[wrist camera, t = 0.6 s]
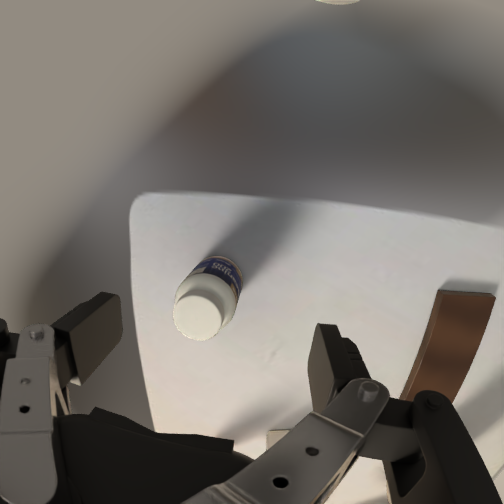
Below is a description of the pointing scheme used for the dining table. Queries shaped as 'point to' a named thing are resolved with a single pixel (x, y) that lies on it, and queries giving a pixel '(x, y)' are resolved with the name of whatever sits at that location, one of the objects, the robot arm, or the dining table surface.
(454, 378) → the board
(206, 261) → the pill bottle
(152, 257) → the dining table surface
